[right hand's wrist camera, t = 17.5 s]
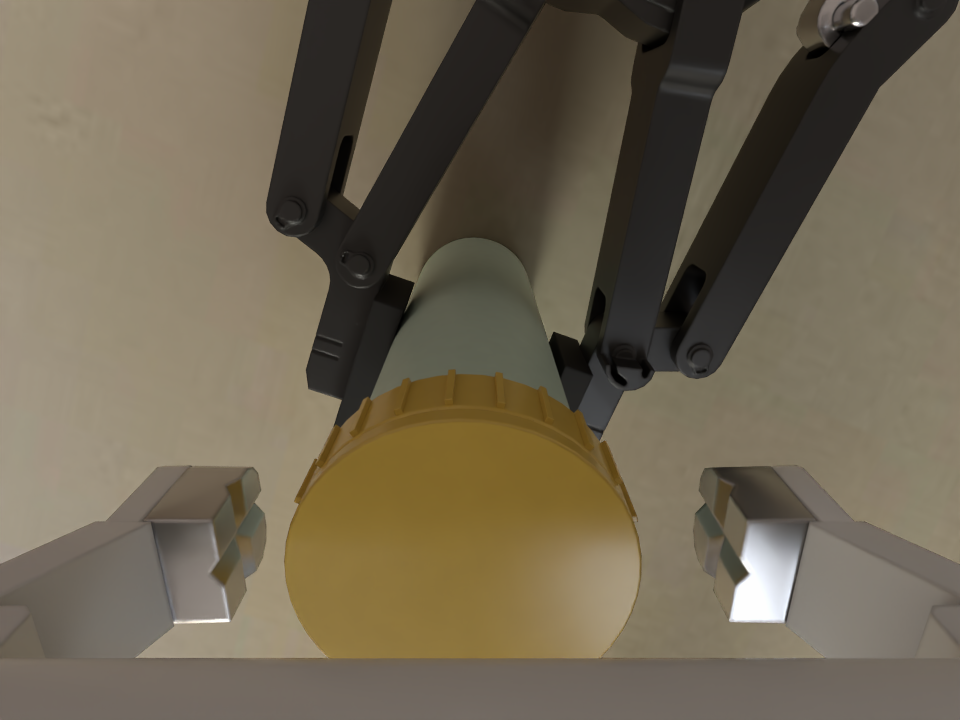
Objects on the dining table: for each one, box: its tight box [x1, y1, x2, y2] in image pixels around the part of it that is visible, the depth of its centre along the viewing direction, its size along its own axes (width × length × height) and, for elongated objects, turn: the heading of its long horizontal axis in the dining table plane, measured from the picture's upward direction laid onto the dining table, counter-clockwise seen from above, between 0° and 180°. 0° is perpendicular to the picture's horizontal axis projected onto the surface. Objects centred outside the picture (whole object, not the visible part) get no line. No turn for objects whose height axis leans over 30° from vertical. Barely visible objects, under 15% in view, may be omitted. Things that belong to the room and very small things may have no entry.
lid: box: [284, 369, 642, 658], centre depth 9 cm, size 5×5×2 cm
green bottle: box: [370, 238, 570, 409], centre depth 16 cm, size 4×4×15 cm
